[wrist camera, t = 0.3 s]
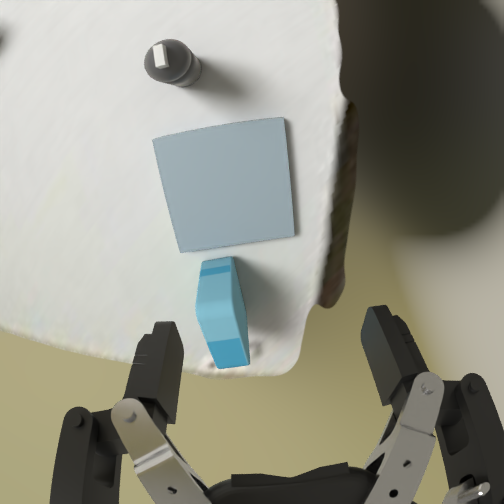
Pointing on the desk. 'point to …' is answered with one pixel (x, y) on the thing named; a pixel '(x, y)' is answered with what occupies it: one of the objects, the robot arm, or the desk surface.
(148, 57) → the dark grey bottle
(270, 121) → the plate
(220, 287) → the data package
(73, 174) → the desk surface
